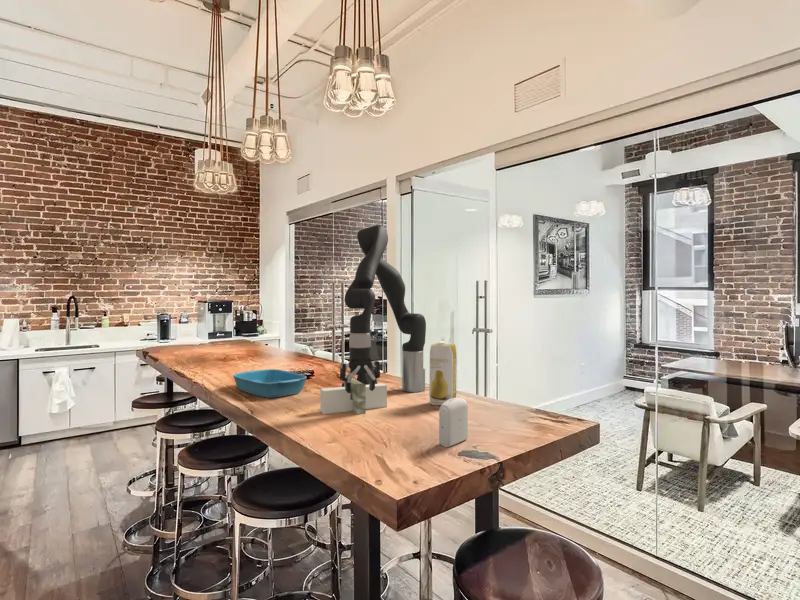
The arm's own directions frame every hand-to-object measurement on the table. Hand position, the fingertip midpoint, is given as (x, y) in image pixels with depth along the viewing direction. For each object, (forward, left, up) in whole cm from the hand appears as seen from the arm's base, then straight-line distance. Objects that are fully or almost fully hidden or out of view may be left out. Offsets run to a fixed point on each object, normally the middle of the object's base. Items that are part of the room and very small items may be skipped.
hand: (360, 391), depth 161 cm
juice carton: (-33, +2, -8) cm, 34 cm away
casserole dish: (+23, -49, -8) cm, 54 cm away
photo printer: (-13, +41, -8) cm, 44 cm away
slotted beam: (0, -5, -7) cm, 9 cm away
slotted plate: (0, -5, -7) cm, 9 cm away
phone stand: (-17, -36, -8) cm, 40 cm away
